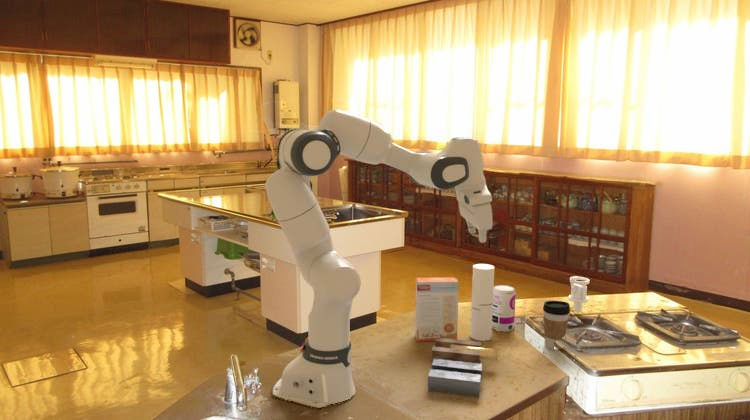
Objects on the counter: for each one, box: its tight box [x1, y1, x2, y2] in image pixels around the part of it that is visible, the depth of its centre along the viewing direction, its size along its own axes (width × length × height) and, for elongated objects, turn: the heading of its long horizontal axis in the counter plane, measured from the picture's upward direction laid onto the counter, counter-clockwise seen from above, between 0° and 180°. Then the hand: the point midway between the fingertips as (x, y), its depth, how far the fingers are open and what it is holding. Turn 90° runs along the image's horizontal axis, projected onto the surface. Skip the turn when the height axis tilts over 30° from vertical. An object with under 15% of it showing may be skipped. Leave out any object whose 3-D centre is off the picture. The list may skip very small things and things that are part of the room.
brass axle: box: [450, 344, 498, 362], centre depth 164 cm, size 14×4×4 cm, turn 76°
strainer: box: [568, 275, 590, 312], centre depth 210 cm, size 7×7×15 cm
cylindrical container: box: [469, 263, 495, 342], centre depth 186 cm, size 7×7×25 cm
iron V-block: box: [427, 359, 483, 398], centre depth 153 cm, size 14×11×4 cm
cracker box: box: [414, 276, 460, 342], centre depth 185 cm, size 14×6×21 cm, turn 92°
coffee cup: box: [542, 300, 571, 351], centre depth 179 cm, size 8×8×15 cm
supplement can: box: [492, 284, 517, 332], centre depth 194 cm, size 8×8×15 cm
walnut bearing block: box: [430, 337, 482, 369], centre depth 166 cm, size 14×10×6 cm
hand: (477, 237), depth 160 cm, fingers open, 8 cm apart
